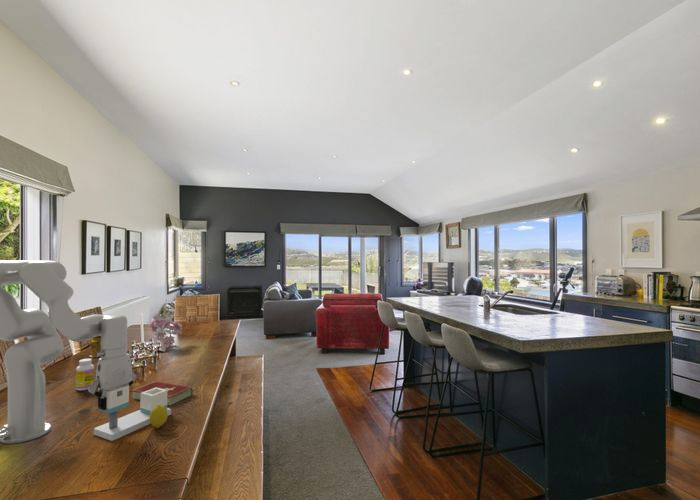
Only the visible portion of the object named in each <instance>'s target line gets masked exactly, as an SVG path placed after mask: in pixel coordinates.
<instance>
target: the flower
mask: <svg viewBox="0 0 700 500" xmlns="http://www.w3.org/2000/svg"><path fill="white" fill-rule="evenodd" d="M162 315H163V314H162V313H160V314H158V312H157V313H155V314H154V315H153V316H152V317H151V318H150V320H151V321H150V322H149V321H147V324H148V328H149V329H151V332H152V333H154V335H155V336H156V337H155V340H156V341H158V342H159V341H160V342H161V343H162V347H160V348H159V350H158V351H161V352H163V353H166V351H167V347H173V346H174V345H173V344H175V343H176V342H175V338H176V337H175V336H176V335H177V334H178V335H179V334H181V335H182V334H183V332H182V330H183V325H182V324H181V323H179V322H176V321H172V320H173V319H172V317H167V315H166V316H165V318H164V316H162ZM167 334H168V336H167ZM173 335H175V336H173Z"/></svg>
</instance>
